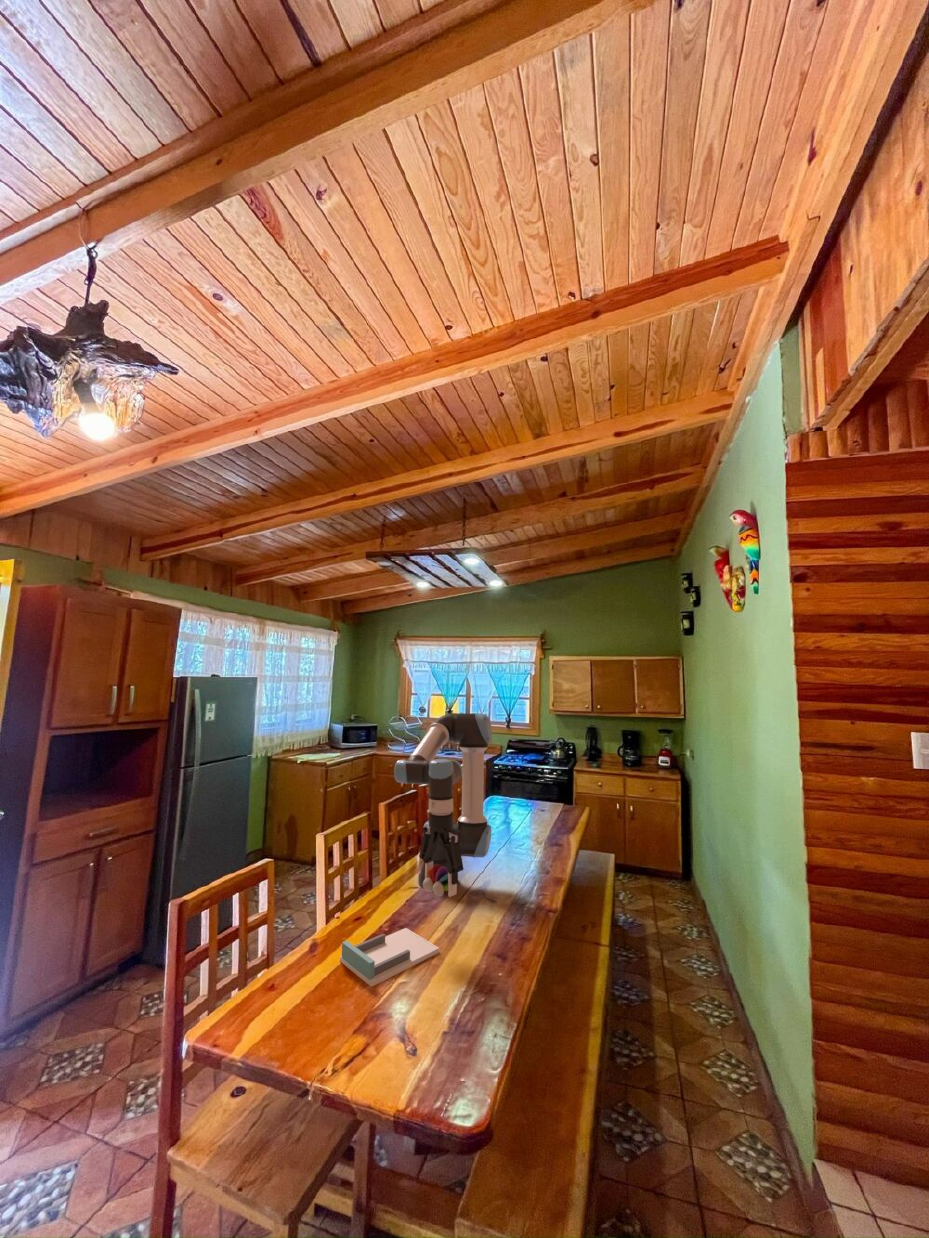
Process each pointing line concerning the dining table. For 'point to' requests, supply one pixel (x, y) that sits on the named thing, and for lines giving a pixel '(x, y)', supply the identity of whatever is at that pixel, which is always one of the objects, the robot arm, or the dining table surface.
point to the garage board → (386, 955)
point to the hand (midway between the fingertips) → (440, 889)
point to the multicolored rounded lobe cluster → (436, 880)
